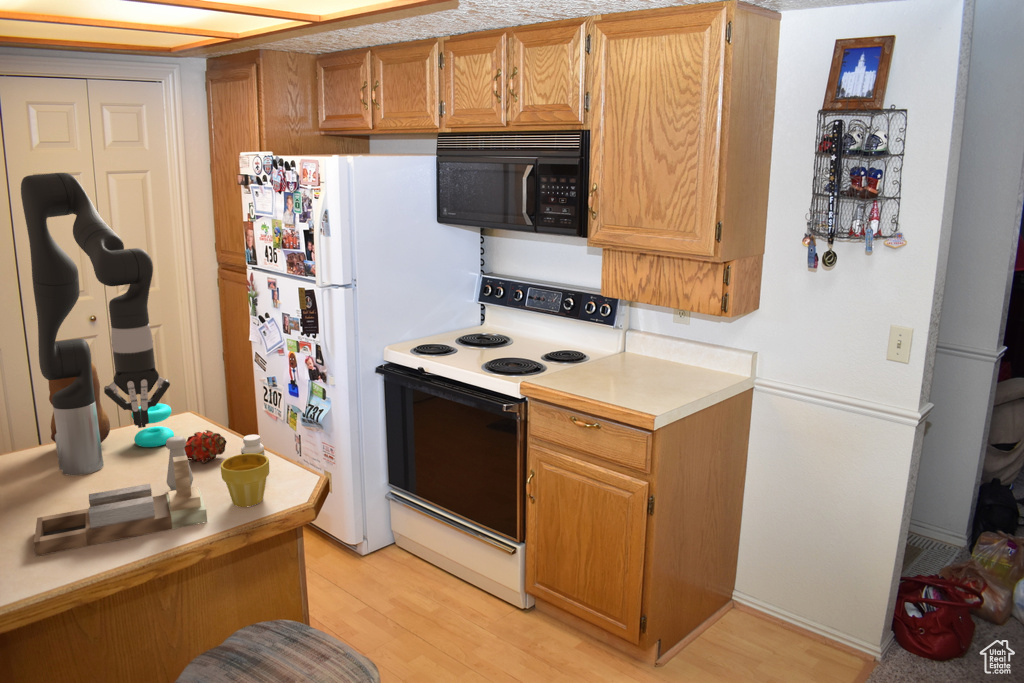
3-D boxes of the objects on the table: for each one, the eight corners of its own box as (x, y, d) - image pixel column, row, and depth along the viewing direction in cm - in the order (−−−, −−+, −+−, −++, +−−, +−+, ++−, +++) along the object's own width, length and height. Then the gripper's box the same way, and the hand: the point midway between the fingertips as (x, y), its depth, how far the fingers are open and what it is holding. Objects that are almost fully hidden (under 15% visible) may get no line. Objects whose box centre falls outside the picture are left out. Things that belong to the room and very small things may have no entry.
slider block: (171, 511, 168) (166, 465, 165) (169, 500, 173) (164, 456, 171) (200, 506, 170) (196, 461, 168) (198, 495, 176) (193, 451, 173)
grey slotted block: (91, 529, 160) (88, 513, 159) (90, 509, 169) (88, 494, 168) (155, 517, 165) (153, 501, 164) (151, 498, 174) (150, 483, 173)
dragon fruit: (232, 462, 206) (184, 476, 201) (225, 436, 210) (178, 450, 206) (228, 445, 199) (179, 459, 195) (221, 419, 204) (172, 432, 199)
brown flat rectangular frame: (36, 556, 155) (33, 542, 154) (39, 530, 165) (37, 517, 165) (207, 521, 170) (206, 509, 169) (200, 500, 180) (199, 488, 179)
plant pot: (252, 514, 173) (248, 473, 171) (214, 507, 177) (210, 466, 174) (280, 495, 183) (278, 456, 180) (244, 489, 186) (241, 450, 184)
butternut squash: (98, 435, 220) (87, 349, 214) (120, 447, 212) (109, 357, 206) (45, 449, 210) (32, 359, 204) (66, 462, 202) (53, 368, 196)
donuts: (156, 399, 220) (178, 406, 215) (160, 433, 222) (182, 440, 217) (123, 409, 212) (144, 416, 207) (127, 444, 214) (148, 451, 209)
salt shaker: (184, 495, 182) (178, 443, 179) (162, 493, 184) (156, 441, 180) (199, 485, 188) (193, 434, 185) (177, 483, 189) (172, 432, 186)
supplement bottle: (238, 476, 193) (235, 439, 191) (253, 468, 198) (250, 432, 196) (256, 480, 191) (253, 442, 189) (270, 471, 196) (267, 435, 194)
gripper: (96, 354, 154) (107, 437, 159) (169, 347, 160) (177, 427, 165) (96, 346, 161) (106, 425, 165) (166, 339, 167) (174, 416, 171)
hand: (141, 426), depth 165 cm, fingers closed
